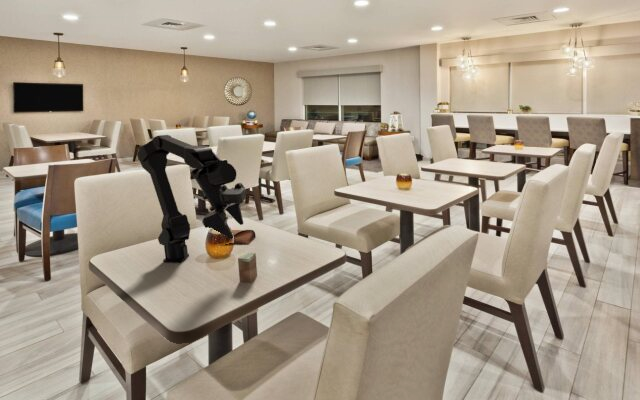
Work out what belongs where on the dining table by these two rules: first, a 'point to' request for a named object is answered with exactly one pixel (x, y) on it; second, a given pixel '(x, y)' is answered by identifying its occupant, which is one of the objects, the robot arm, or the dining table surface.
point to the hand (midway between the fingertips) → (237, 231)
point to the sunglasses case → (243, 236)
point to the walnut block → (247, 267)
